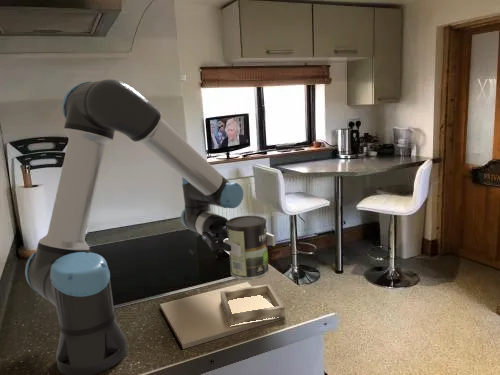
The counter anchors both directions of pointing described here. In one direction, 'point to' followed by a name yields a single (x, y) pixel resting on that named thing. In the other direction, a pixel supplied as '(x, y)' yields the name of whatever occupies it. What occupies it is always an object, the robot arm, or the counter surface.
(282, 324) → the counter surface
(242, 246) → the coffee can
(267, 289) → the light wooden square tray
